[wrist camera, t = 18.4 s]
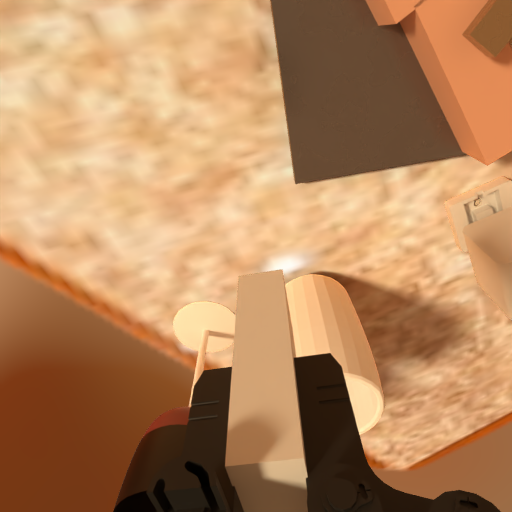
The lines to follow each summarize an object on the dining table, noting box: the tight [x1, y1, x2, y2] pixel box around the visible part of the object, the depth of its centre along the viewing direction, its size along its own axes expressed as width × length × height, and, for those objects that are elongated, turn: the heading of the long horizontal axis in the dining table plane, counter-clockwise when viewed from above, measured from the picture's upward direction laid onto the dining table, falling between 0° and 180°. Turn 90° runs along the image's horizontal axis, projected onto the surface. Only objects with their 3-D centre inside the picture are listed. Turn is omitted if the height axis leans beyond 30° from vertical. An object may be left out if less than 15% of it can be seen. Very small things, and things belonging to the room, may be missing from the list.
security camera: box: [444, 176, 512, 320], centre depth 32 cm, size 6×7×10 cm
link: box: [366, 0, 512, 166], centre depth 26 cm, size 19×7×4 cm, turn 37°
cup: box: [285, 274, 385, 435], centre depth 35 cm, size 8×8×14 cm
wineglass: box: [113, 301, 236, 512], centre depth 34 cm, size 8×9×20 cm
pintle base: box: [270, 0, 512, 184], centre depth 26 cm, size 19×17×8 cm
